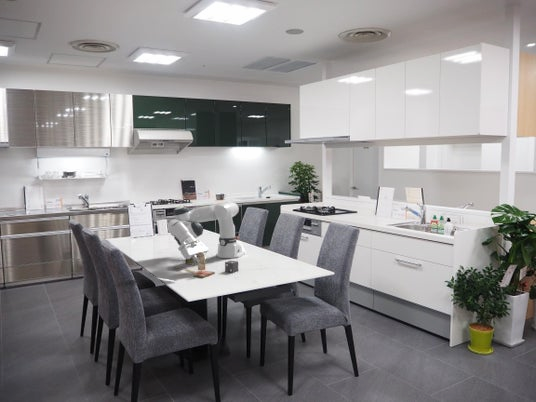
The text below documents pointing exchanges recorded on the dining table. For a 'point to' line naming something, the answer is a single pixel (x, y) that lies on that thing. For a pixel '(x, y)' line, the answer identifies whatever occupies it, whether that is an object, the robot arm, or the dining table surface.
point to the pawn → (202, 263)
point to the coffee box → (192, 261)
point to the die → (231, 266)
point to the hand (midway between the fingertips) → (202, 260)
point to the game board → (198, 274)
